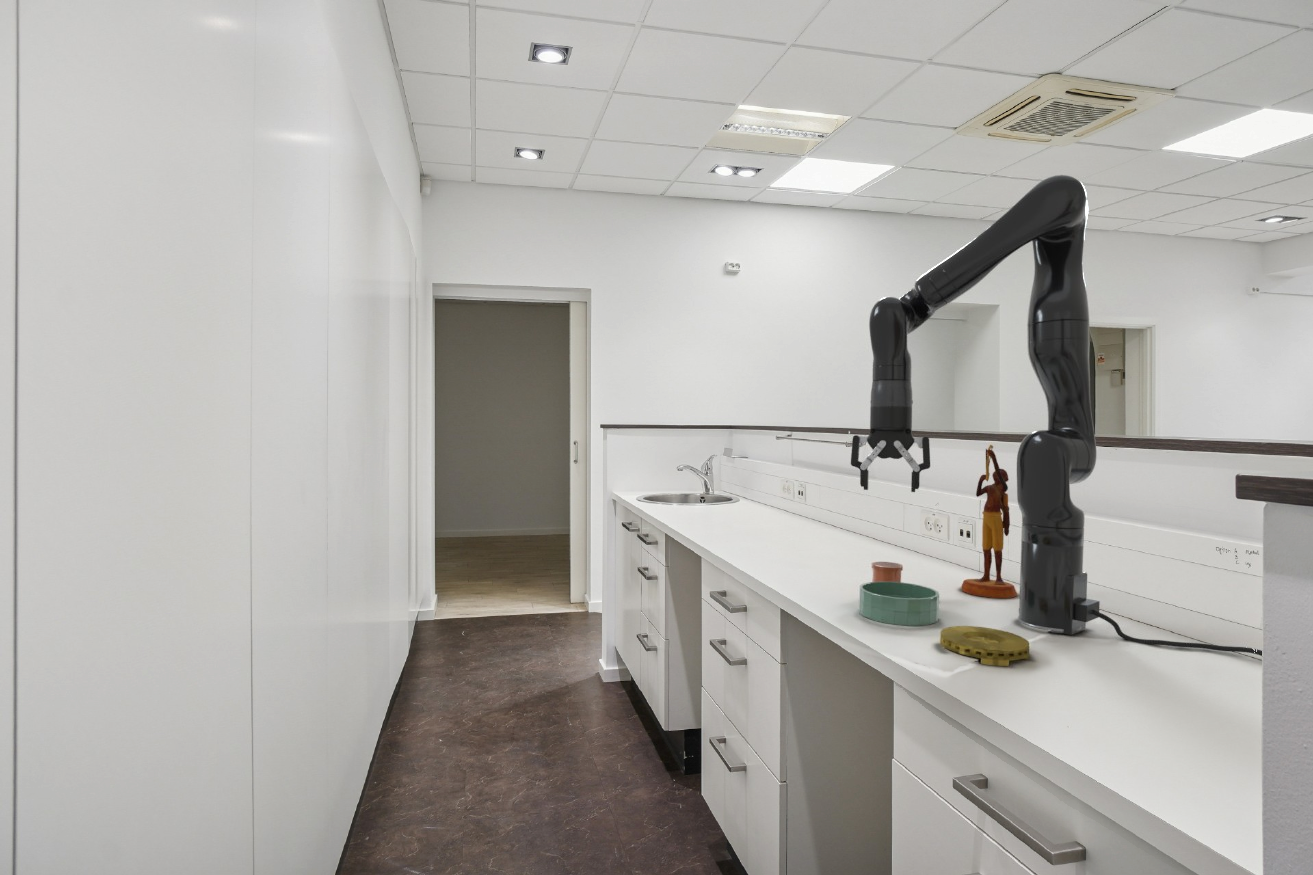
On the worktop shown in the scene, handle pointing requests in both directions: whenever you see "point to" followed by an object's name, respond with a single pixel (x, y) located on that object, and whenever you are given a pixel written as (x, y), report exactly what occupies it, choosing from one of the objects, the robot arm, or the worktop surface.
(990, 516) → the sculpture
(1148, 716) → the worktop surface
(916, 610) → the bowl
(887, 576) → the orange cylinder
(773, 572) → the worktop surface
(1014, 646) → the olive yellow slotted disc
